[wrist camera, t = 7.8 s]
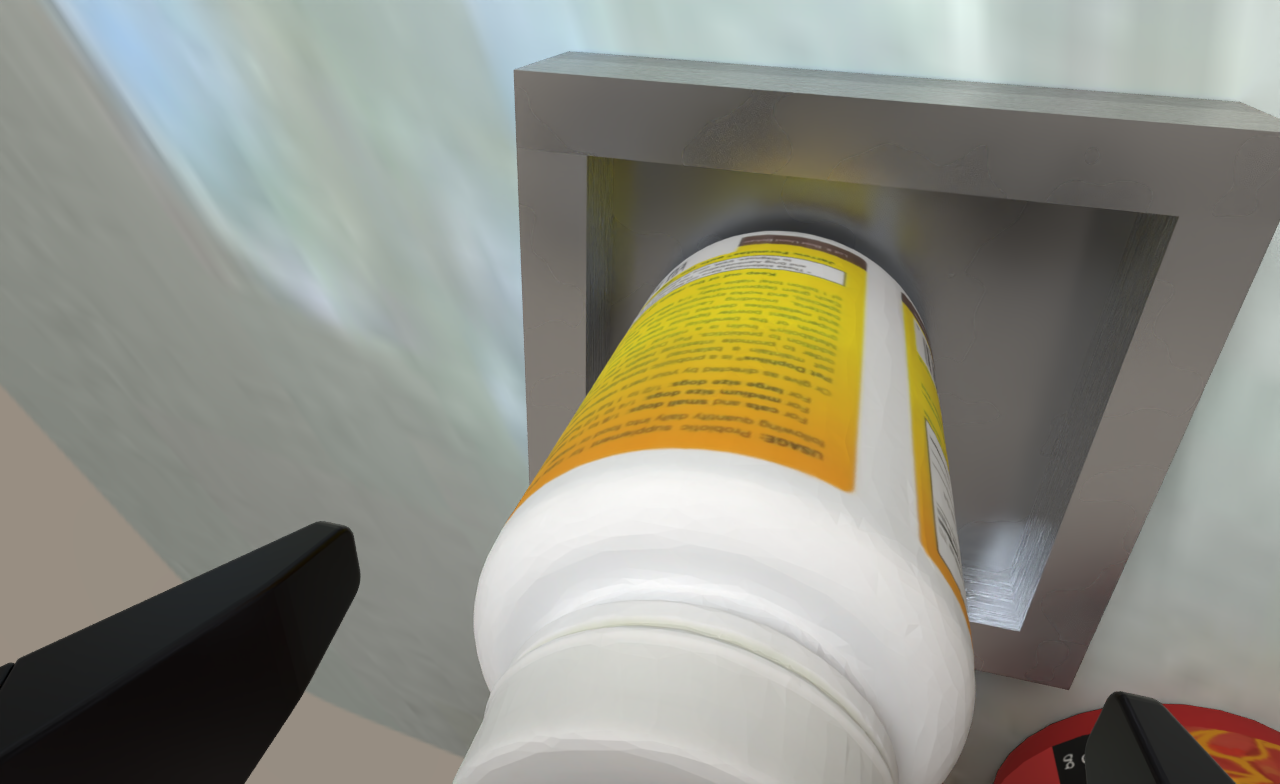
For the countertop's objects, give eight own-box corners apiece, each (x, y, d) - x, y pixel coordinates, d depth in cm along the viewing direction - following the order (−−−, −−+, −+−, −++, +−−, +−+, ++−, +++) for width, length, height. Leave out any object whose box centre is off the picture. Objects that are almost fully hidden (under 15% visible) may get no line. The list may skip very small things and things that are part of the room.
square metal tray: (1240, 101, 12) (1318, 135, 10) (1045, 597, 18) (1068, 690, 15) (568, 51, 15) (514, 69, 12) (571, 503, 20) (532, 573, 18)
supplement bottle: (586, 347, 16) (256, 800, 8) (787, 153, 13) (623, 528, 5) (773, 524, 17) (666, 1105, 9) (999, 377, 14) (1180, 1029, 6)
